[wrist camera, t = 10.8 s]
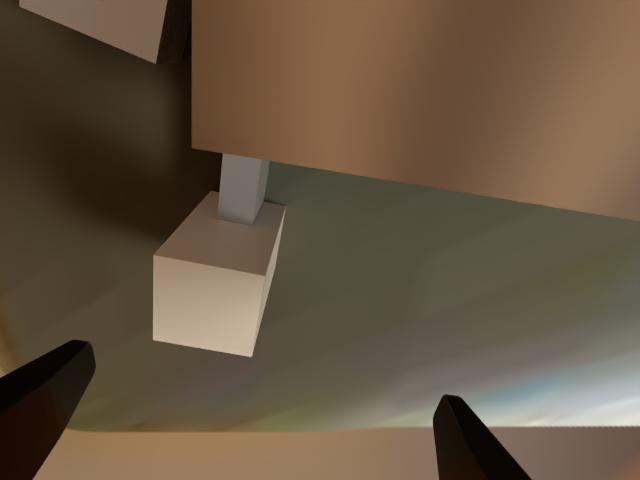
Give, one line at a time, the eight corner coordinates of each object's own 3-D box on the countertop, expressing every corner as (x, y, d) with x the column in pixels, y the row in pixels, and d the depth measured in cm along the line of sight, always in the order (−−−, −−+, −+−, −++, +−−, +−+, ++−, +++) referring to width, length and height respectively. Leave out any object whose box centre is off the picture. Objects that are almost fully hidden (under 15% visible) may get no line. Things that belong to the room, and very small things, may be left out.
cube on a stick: (336, -77, 14) (342, -183, 8) (274, 268, 21) (251, 356, 15) (234, -104, 14) (156, -236, 8) (205, 255, 21) (153, 339, 15)
